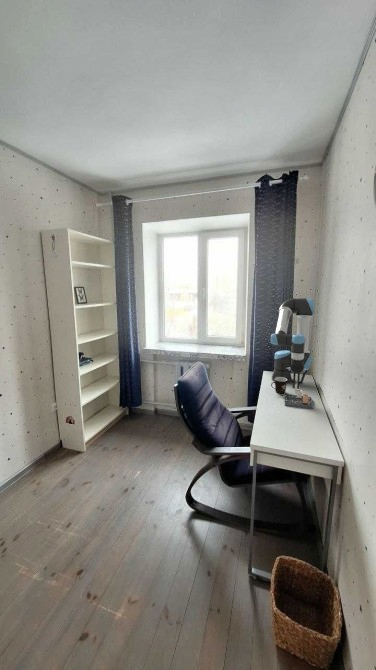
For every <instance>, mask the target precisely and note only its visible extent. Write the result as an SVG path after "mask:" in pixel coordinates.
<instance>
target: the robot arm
mask: <svg viewBox="0 0 376 670" xmlns="http://www.w3.org/2000/svg"><path fill="white" fill-rule="evenodd" d="M292 314H295V317H296V318H297V325H296V326H297V327H296V334H287V332H288V327H289V321H290V316H291V315H292ZM315 314H316V312H315V303H314V299H313V298H307V297H305V298H304V297H303V298H301V297H300V298H289V299H286V300H285V301H284V302H283V303H282V304H281V305H280V307H279V309H278V318H277V322H276V323H277V324H276V328H275V331H274V332H275V333H272V334H271V335H270V344H271V345H275V346H289V347H291V351H290V350H286V349H285V350H278V351H276V352H275V353H274V358H273V359H274V360H273V361H274V364H273V365H274V369H273V372H272V375H271V381H273V382H275V378H276V377H284V378H286V379H287V384H288V383H289V384H290V383H291V384H292V388H293V389H294V394H293V395H297V389H298V390H299V389H300V385H302V384H303V382H304V379H305V377H306V374H307V373H308V370H309V369H310V367H311V361H312V358H313V356H312V354H311V351H310V350H309V341H310V340H309V339H310V324H311V323H310V322H311V318H313V315H315ZM291 371H292V372H293V378H292V373H291ZM301 372H303V373H302V375H301ZM296 373H297V381H296ZM300 376H301V378H300Z"/></svg>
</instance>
